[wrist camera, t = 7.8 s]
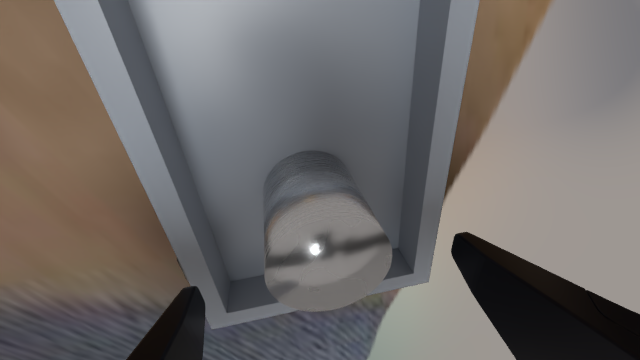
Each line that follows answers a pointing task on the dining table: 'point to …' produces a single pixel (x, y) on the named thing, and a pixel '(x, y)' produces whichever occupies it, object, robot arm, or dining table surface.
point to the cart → (278, 119)
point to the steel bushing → (320, 235)
